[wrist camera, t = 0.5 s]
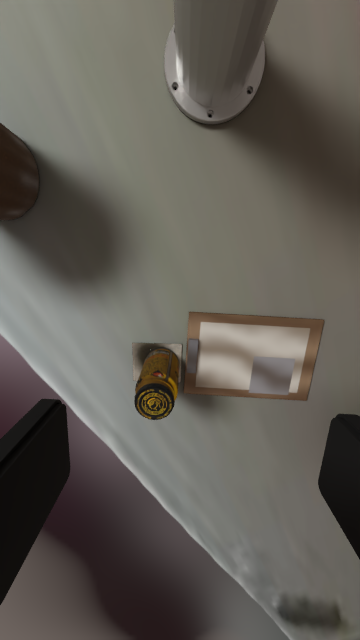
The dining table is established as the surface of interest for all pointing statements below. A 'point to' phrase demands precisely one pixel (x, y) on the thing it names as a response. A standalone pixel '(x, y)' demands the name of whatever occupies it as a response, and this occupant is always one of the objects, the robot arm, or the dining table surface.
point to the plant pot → (16, 176)
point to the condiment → (156, 378)
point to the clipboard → (251, 355)
